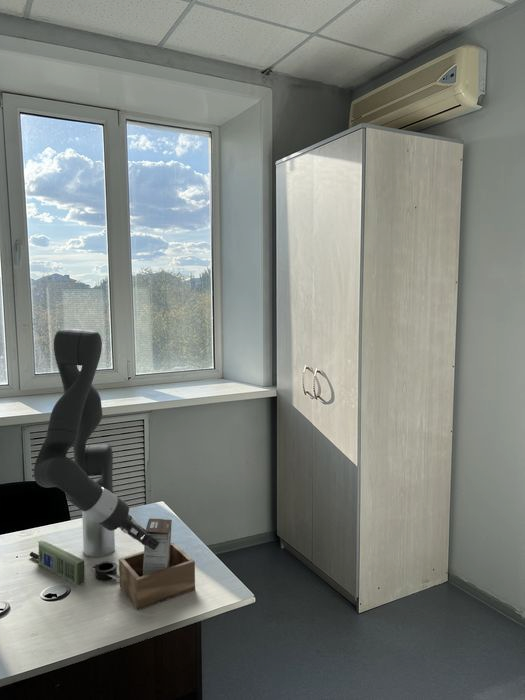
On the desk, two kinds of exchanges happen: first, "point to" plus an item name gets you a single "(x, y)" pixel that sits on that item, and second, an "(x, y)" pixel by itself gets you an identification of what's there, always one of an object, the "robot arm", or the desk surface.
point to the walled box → (156, 578)
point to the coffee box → (161, 554)
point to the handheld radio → (60, 562)
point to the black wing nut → (106, 571)
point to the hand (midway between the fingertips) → (149, 540)
